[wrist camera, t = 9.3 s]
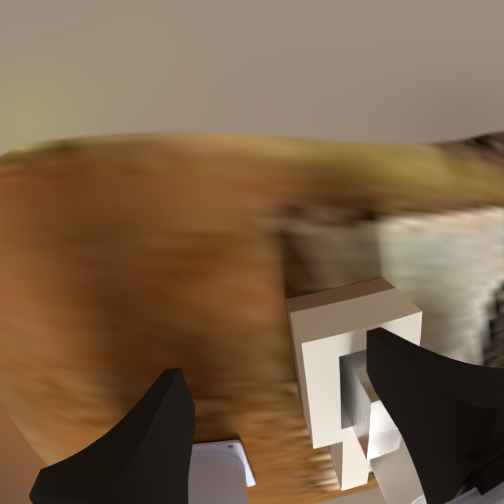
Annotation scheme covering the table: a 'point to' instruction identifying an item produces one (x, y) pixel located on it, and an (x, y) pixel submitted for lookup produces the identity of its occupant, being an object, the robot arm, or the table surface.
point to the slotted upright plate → (327, 359)
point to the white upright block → (366, 408)
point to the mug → (398, 477)
